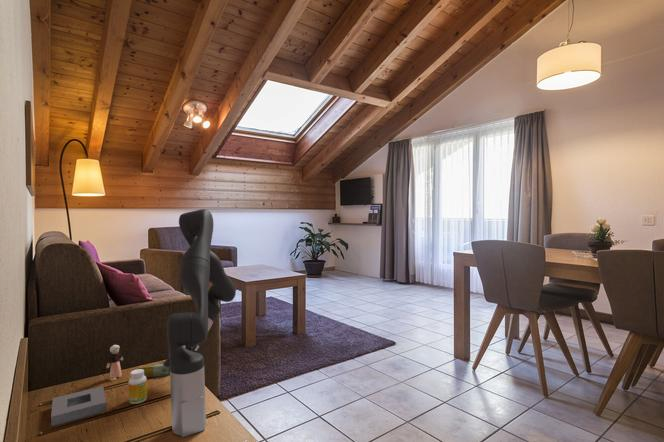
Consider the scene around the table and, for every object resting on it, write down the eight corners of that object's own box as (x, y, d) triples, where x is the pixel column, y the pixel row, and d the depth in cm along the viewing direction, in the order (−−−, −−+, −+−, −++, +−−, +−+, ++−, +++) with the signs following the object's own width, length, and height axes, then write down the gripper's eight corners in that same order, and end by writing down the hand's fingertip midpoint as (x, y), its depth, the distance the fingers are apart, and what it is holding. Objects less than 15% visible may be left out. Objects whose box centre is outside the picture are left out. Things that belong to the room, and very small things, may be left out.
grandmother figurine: (115, 382, 141) (114, 348, 140) (105, 382, 141) (103, 348, 141) (126, 373, 148) (125, 341, 148) (117, 373, 149) (115, 341, 148)
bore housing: (106, 411, 120) (106, 402, 120) (51, 426, 112) (51, 416, 112) (103, 394, 131) (103, 386, 131) (53, 407, 123) (52, 398, 123)
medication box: (172, 372, 148) (172, 362, 148) (170, 375, 146) (170, 365, 146) (140, 375, 147) (139, 365, 147) (137, 378, 144) (137, 367, 144)
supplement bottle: (139, 405, 123) (138, 375, 123) (125, 403, 124) (124, 374, 124) (150, 396, 129) (149, 368, 128) (137, 395, 130) (135, 367, 129)
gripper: (181, 320, 146) (153, 360, 137) (201, 325, 137) (173, 368, 128) (195, 330, 150) (169, 369, 142) (215, 336, 141) (188, 378, 132)
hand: (171, 369), depth 135 cm, fingers open, 8 cm apart
